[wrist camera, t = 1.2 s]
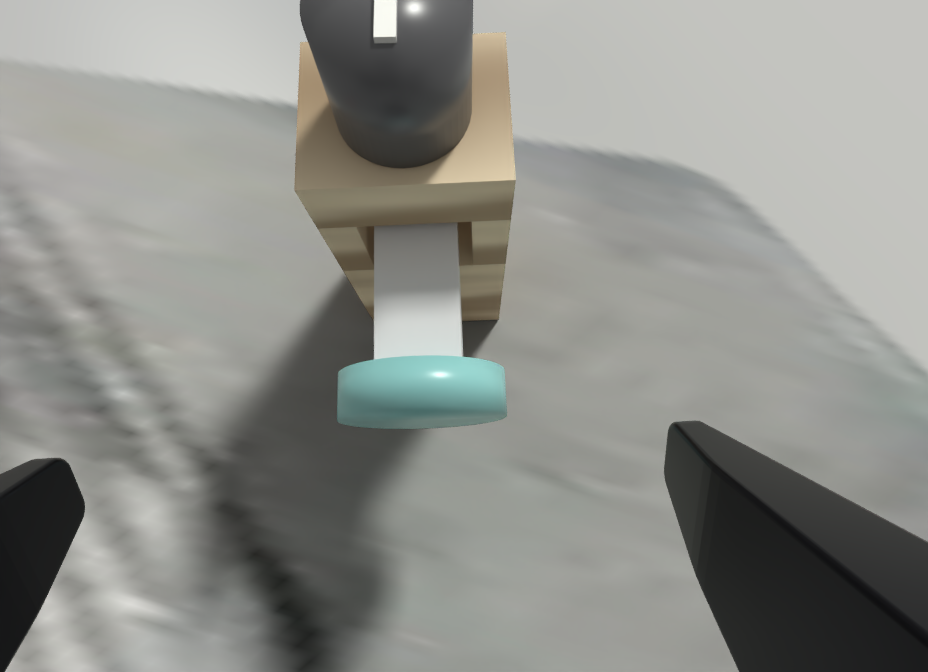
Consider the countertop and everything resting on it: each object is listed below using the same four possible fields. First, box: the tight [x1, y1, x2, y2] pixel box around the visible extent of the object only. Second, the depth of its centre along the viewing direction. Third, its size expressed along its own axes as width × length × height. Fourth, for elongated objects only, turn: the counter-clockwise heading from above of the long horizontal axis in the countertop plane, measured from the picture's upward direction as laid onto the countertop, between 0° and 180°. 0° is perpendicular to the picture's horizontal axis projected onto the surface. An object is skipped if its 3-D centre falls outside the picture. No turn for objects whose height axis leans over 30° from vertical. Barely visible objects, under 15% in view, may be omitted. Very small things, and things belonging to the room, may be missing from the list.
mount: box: [294, 32, 516, 321], centre depth 19 cm, size 4×5×11 cm
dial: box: [300, 0, 473, 168], centre depth 12 cm, size 3×3×3 cm
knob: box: [337, 222, 507, 429], centre depth 16 cm, size 6×4×4 cm
